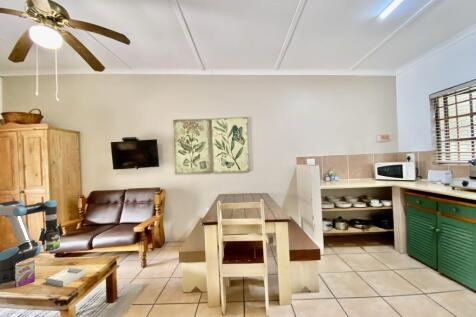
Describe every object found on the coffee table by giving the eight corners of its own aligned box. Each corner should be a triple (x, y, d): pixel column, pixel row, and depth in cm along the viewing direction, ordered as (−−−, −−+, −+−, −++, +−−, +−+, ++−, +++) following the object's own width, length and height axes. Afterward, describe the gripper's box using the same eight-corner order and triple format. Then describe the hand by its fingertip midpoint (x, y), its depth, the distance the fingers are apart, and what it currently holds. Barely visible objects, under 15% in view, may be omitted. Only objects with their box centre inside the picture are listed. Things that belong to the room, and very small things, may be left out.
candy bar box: (15, 287, 168) (14, 265, 168) (15, 285, 172) (14, 263, 172) (35, 282, 176) (34, 261, 176) (35, 279, 180) (34, 259, 180)
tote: (46, 283, 173) (45, 278, 173) (69, 271, 191) (69, 267, 191) (63, 286, 168) (63, 281, 168) (85, 274, 186) (85, 269, 186)
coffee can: (63, 247, 191) (62, 230, 190) (50, 252, 180) (50, 234, 180) (53, 246, 193) (52, 230, 192) (40, 251, 182) (39, 234, 182)
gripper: (39, 223, 174) (39, 252, 175) (68, 216, 196) (68, 241, 196) (32, 222, 177) (32, 251, 177) (61, 215, 198) (62, 240, 198)
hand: (51, 246), depth 186 cm, fingers closed on coffee can, 10 cm apart
